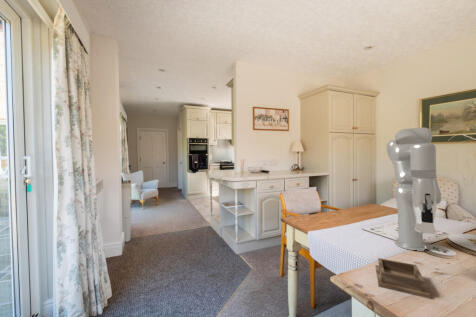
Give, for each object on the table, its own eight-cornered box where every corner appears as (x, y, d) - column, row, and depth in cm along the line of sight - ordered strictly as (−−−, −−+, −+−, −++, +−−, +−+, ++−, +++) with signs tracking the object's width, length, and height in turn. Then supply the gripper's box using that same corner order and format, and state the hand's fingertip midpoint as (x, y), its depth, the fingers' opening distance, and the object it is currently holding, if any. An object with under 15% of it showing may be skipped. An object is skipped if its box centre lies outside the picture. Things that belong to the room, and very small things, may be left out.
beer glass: (442, 234, 76) (440, 195, 76) (420, 234, 78) (419, 195, 77) (428, 228, 83) (427, 191, 83) (409, 227, 84) (408, 191, 84)
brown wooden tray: (375, 267, 85) (375, 256, 85) (419, 276, 78) (418, 264, 78) (378, 286, 73) (378, 273, 73) (430, 298, 66) (430, 284, 66)
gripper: (406, 172, 89) (407, 212, 90) (416, 176, 74) (417, 225, 75) (429, 172, 86) (430, 214, 86) (444, 177, 71) (445, 228, 71)
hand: (424, 219), depth 80 cm, fingers closed on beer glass, 6 cm apart
